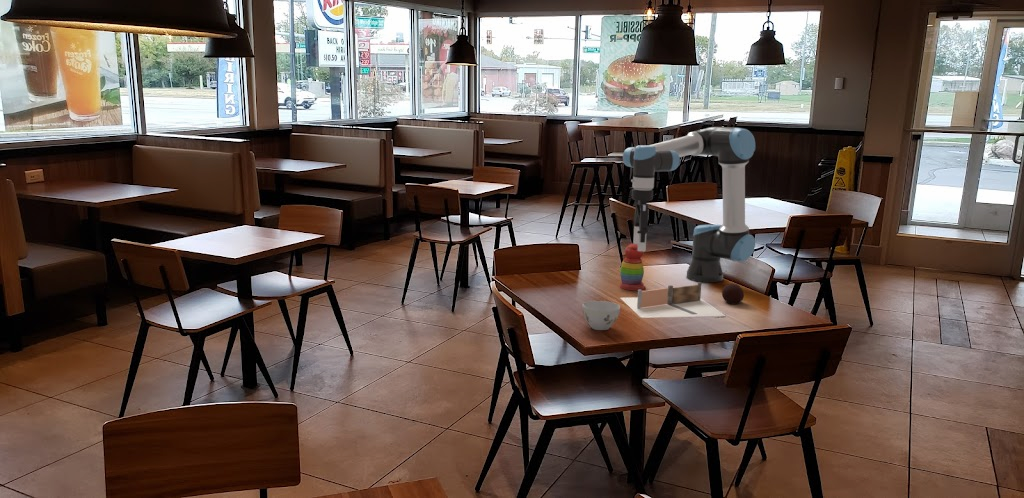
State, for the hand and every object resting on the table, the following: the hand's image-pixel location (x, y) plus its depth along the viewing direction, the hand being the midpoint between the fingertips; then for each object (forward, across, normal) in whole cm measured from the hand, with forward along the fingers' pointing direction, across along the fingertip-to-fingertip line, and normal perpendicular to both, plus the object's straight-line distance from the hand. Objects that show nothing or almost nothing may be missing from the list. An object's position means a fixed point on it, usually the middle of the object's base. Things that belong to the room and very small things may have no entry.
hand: (639, 247), depth 278 cm
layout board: (+22, +3, +12) cm, 25 cm away
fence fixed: (+21, -3, +18) cm, 28 cm away
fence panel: (+21, +4, +5) cm, 22 cm away
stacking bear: (+22, -25, +2) cm, 33 cm away
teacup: (+22, +29, -16) cm, 40 cm away
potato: (+22, -5, +37) cm, 43 cm away
